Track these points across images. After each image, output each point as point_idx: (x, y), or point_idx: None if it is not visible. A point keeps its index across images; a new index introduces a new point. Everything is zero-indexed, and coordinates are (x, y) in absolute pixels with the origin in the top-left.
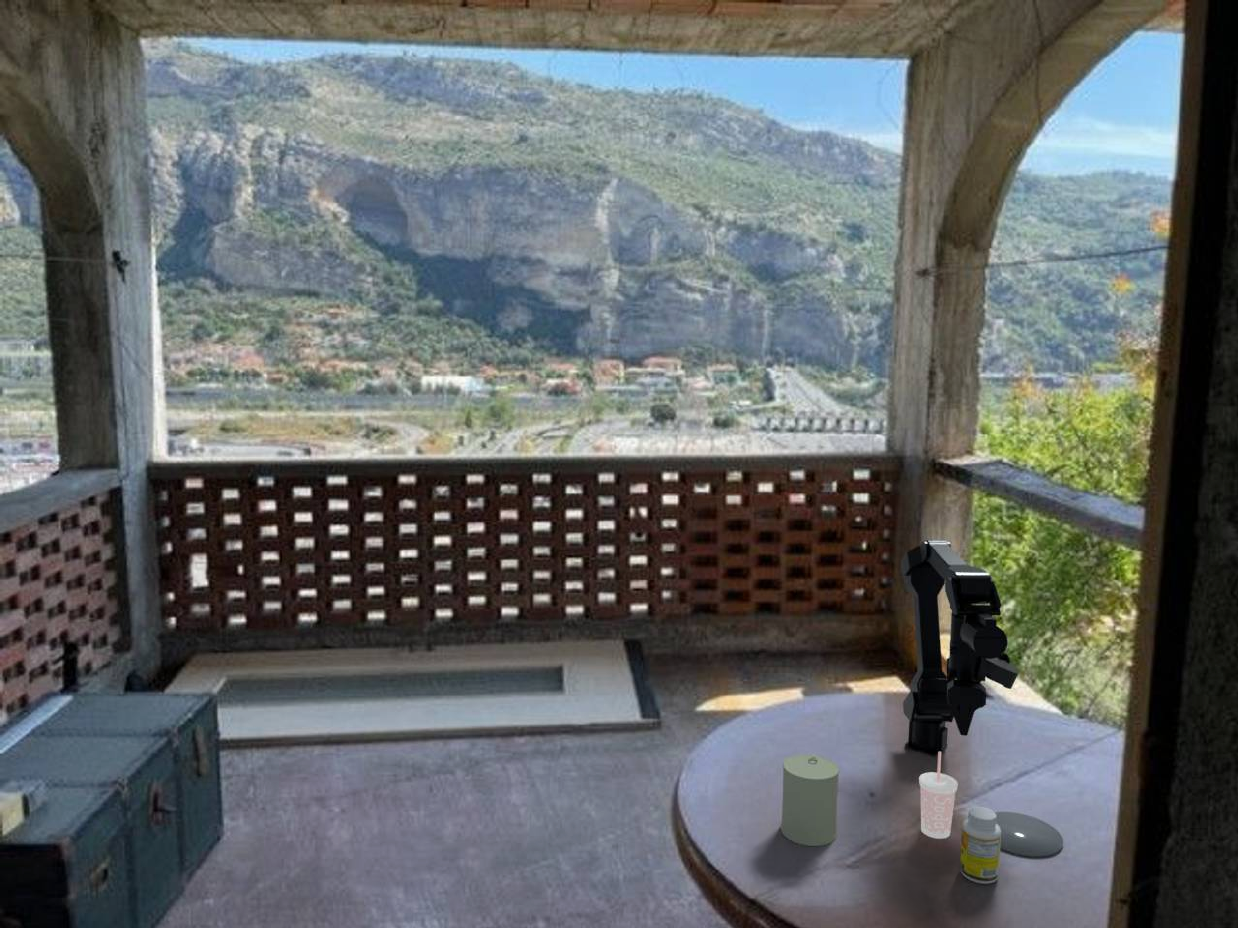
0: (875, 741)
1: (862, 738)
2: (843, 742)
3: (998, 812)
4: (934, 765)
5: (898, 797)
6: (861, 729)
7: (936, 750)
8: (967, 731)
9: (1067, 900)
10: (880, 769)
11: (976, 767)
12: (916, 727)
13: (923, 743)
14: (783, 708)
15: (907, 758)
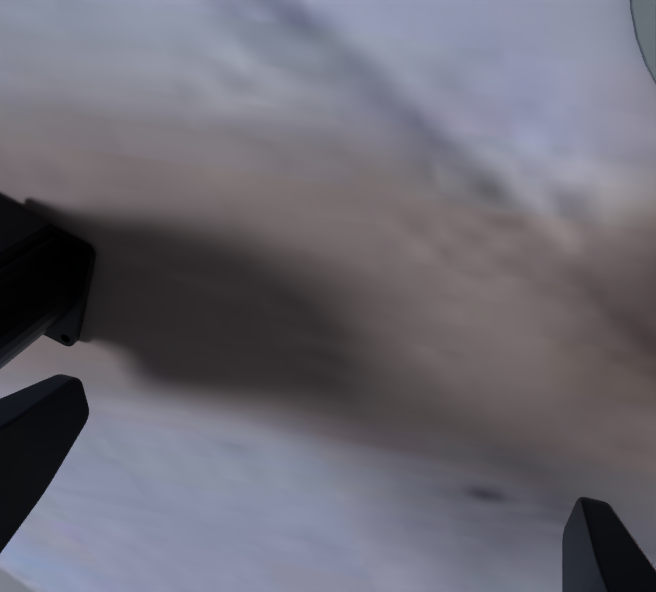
0: None
1: (83, 445)
2: (139, 494)
3: (646, 24)
4: (173, 260)
5: (495, 426)
6: None
7: (58, 244)
8: (642, 553)
9: None
10: (284, 438)
11: (107, 76)
12: (6, 363)
13: (56, 304)
14: (18, 573)
15: (159, 344)
